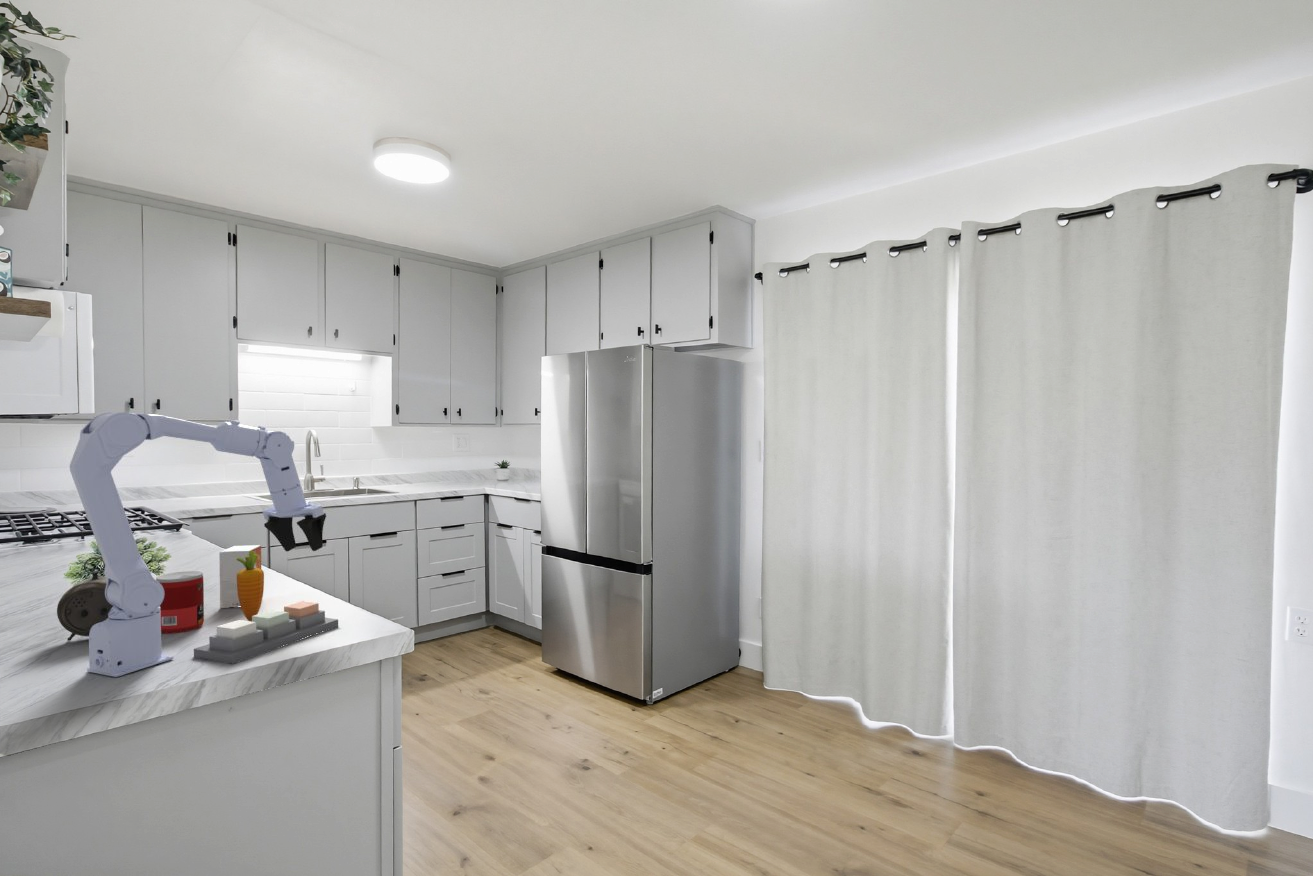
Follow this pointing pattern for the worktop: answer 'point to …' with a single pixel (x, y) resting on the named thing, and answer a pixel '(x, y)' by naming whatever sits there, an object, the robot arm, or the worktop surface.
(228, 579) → the small box
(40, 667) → the worktop surface
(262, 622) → the sage key
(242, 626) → the offwhite key
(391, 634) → the worktop surface
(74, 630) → the alarm clock
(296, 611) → the terracotta key
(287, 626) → the keypad console
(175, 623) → the canned food
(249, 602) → the carrot
